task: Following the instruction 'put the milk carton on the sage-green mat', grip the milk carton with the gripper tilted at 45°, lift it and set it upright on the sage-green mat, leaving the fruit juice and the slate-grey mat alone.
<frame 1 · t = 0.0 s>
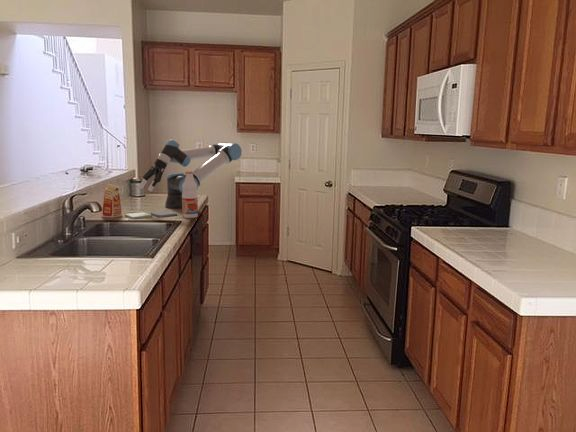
hand: (144, 189, 306), 15 cm above the worktop, tool tilted 35°, fingers open, 13 cm apart
slate mat: (163, 214, 304), on the worktop
milk carton: (112, 216, 297), on the worktop
sage mat: (138, 216, 298), on the worktop
fruit juice: (190, 217, 300), on the worktop
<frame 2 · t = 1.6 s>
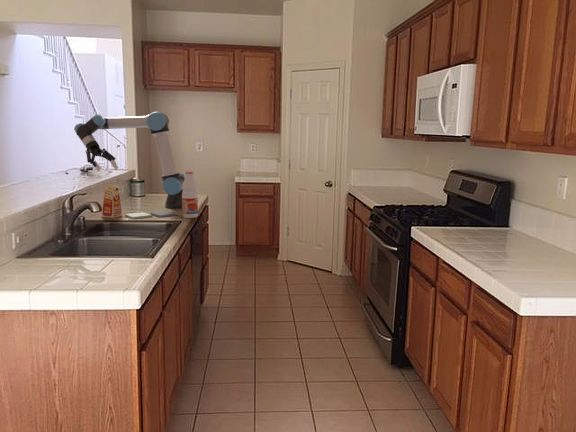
hand: (108, 169, 304), 28 cm above the worktop, tool tilted 45°, fingers open, 13 cm apart
nothing on the worktop moved.
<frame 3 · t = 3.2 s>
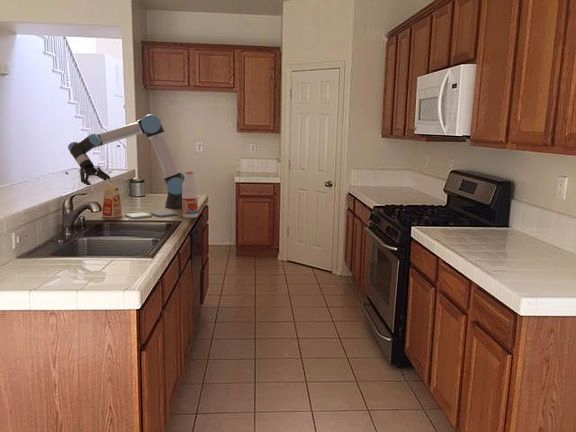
hand: (102, 189, 297), 16 cm above the worktop, tool tilted 45°, fingers open, 13 cm apart
nothing on the worktop moved.
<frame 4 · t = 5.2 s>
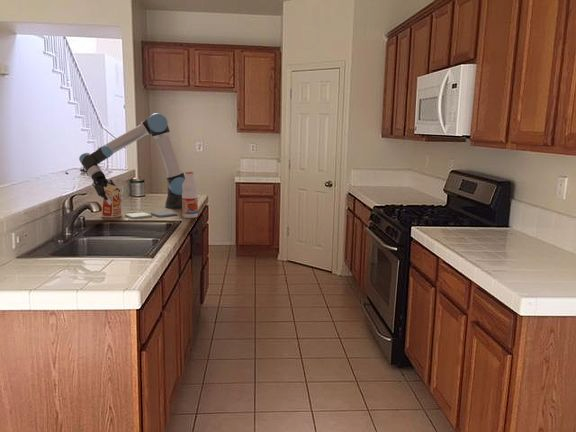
hand: (116, 202, 294), 9 cm above the worktop, tool tilted 45°, fingers closed on milk carton, 8 cm apart
milk carton: (112, 216, 297), on the worktop, touching gripper
everything else where it was.
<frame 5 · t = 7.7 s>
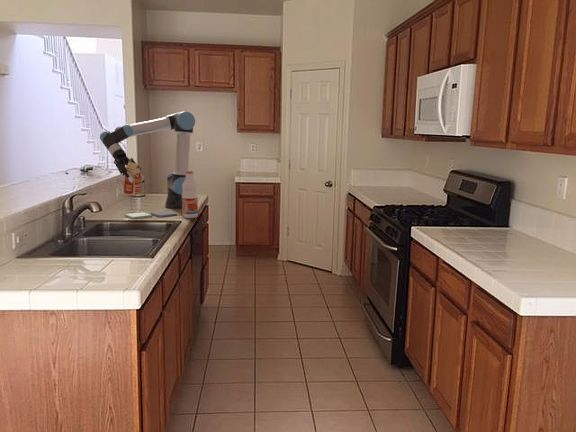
hand: (137, 180, 292), 22 cm above the worktop, tool tilted 45°, fingers closed on milk carton, 8 cm apart
milk carton: (134, 194, 295), point 14 cm above the worktop, touching gripper
everything else where it was.
when the fingers open (11 cm above the worktop, at t = 10.5 s): milk carton drops 1 cm, resting on sage mat.
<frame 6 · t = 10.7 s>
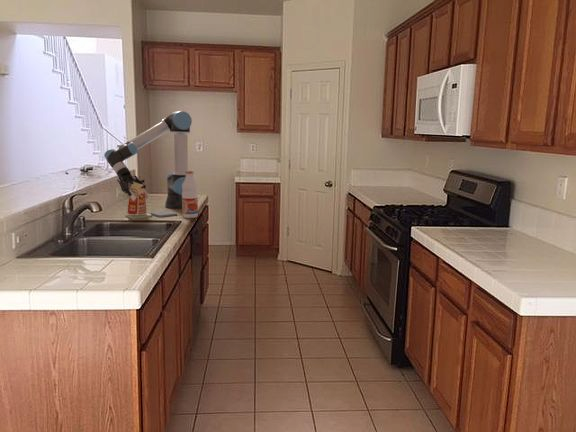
hand: (141, 198, 294), 11 cm above the worktop, tool tilted 45°, fingers open, 10 cm apart
milk carton: (137, 214, 297), point 1 cm above the worktop, touching sage mat
everything else where it was.
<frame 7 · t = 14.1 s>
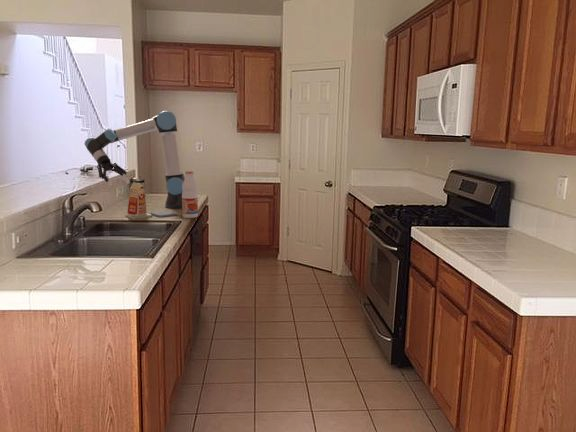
hand: (120, 184, 301), 19 cm above the worktop, tool tilted 45°, fingers open, 13 cm apart
nothing on the worktop moved.
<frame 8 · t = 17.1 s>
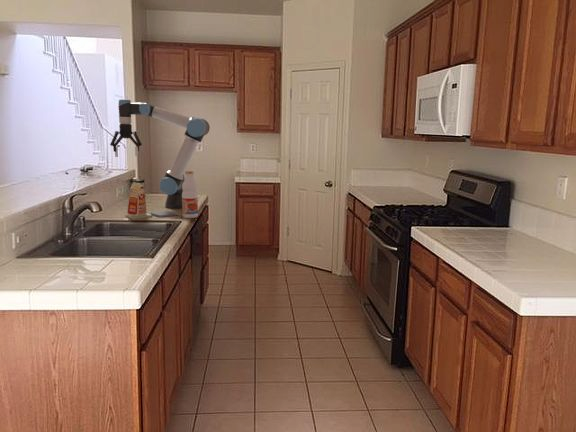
hand: (126, 156, 319), 35 cm above the worktop, tool pointing down, fingers open, 13 cm apart
nothing on the worktop moved.
at the end: milk carton 0.4 cm off-centre on the sage mat, point 1.0 cm above the sage mat's base; milk carton tilted 0°; fruit juice moved 0.2 cm from its start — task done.
